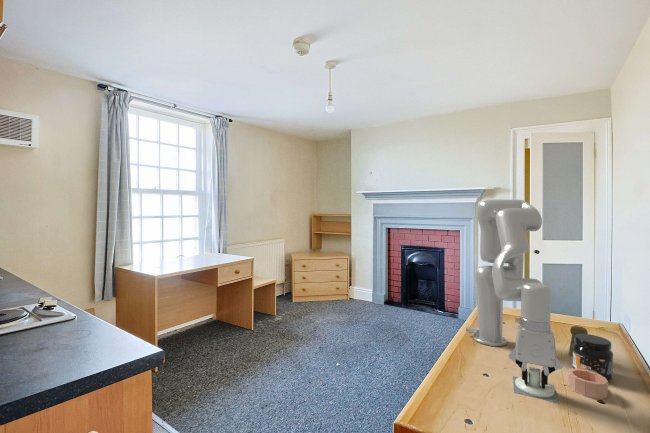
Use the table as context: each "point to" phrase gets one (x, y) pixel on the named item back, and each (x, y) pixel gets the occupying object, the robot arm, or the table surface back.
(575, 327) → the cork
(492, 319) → the robot arm
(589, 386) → the bowl
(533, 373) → the lid
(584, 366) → the supplement container
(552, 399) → the mat
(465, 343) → the table surface
